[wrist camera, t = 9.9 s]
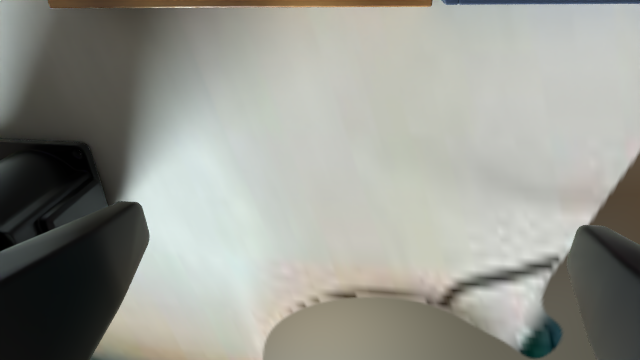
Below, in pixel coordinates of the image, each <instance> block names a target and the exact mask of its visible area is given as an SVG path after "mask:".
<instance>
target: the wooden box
mask: <svg viewBox="0 0 640 360" xmlns="http://www.w3.org/2000/svg"><path fill="white" fill-rule="evenodd" d="M48 3H49V7H50V8H228V7H430V6H431V5H432V0H48Z"/></svg>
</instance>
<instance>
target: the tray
mask: <svg viewBox="0 0 640 360" xmlns="http://www.w3.org/2000/svg"><path fill="white" fill-rule="evenodd" d="M442 1H443V3H444V4H446V5H457V4H460V5H470V4H640V0H442Z"/></svg>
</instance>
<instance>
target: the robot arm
mask: <svg viewBox="0 0 640 360" xmlns="http://www.w3.org/2000/svg"><path fill="white" fill-rule="evenodd" d="M78 150H79V151H80V152H81V153H82V154H80V153H79V152H78ZM148 242H149V230H148V227H147V223H146V219H145V216H144V212H143V209H142V206H141V205H140V204H139V203H137V202H125V201H121V202H117V203H115V204H112V205H110V206H108V204H107V201H106V198H105V194H104V191H103V188H102V185H101V182H100V179H99V176H98V172H97V169H96V166H95V163H94V160H93V157H92V154H91V151H90V149H89V147H88V146H87V145H86V144H84V143H82V142H66V141H41V140H15V139H0V360H90V358H91V356H92V355H93V353H94V351H95V349H96V348H97V346H98V344H99V342H100V341H101V339H102V337H103V335H104V334H105V332H106V330H107V328H108V327H109V325H110V323H111V321H112V320H113V318H114V316H115V314H116V313H117V311H118V309H119V307H120V305H121V303H122V301H123V299H124V297H125V295H126V293H127V291H128V289H129V286H130V284H131V282H132V279H133V277H134V275H135V273H136V270H137V268H138V266H139V264H140V261H141V259H142V257H143V254H144V252H145V250H146V248H147V245H148ZM567 270H568V274H569V277H570V280H571V284H572V287H573V291H574V294H575V297H576V301H577V304H578V308H579V311H580V314H581V317H582V321H583V324H584V328H585V331H586V334H587V337H588V340H589V343H590V345H591V347H592V350H593V353H594V355H595V357H596V360H640V245H639V244H637V243H635V242H633V241H631V240H629V239H627V238H626V237H624V236H622V235H620V234H618V233H616V232H615V231H613V230H611V229H609V228H607V227H604V226H593V225H583V226H581V227H579V228H578V230H577V232H576V235H575V238H574V241H573V243H572V246H571V249H570V252H569V255H568V259H567Z"/></svg>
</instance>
